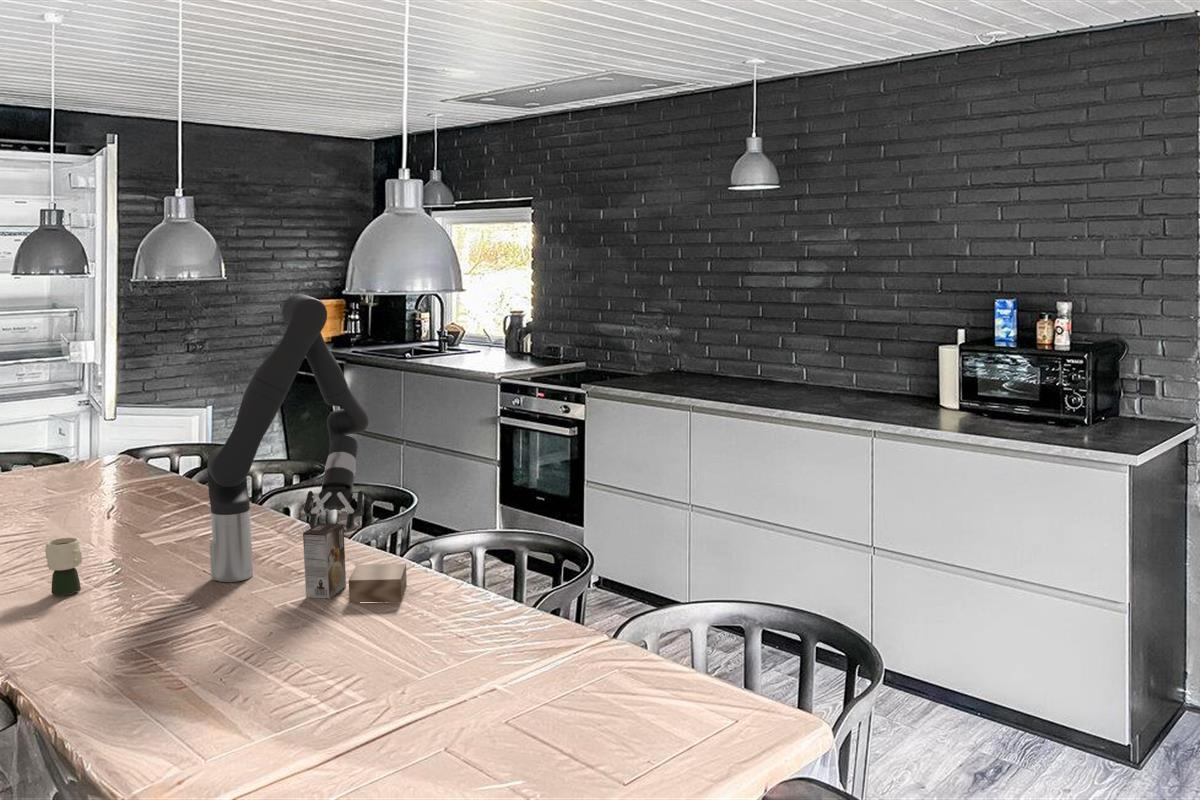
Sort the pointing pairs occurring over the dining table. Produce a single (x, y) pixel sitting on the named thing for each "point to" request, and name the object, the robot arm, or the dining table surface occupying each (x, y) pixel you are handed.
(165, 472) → the dining table surface
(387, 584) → the walnut block
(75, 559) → the character mug
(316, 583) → the coffee box
